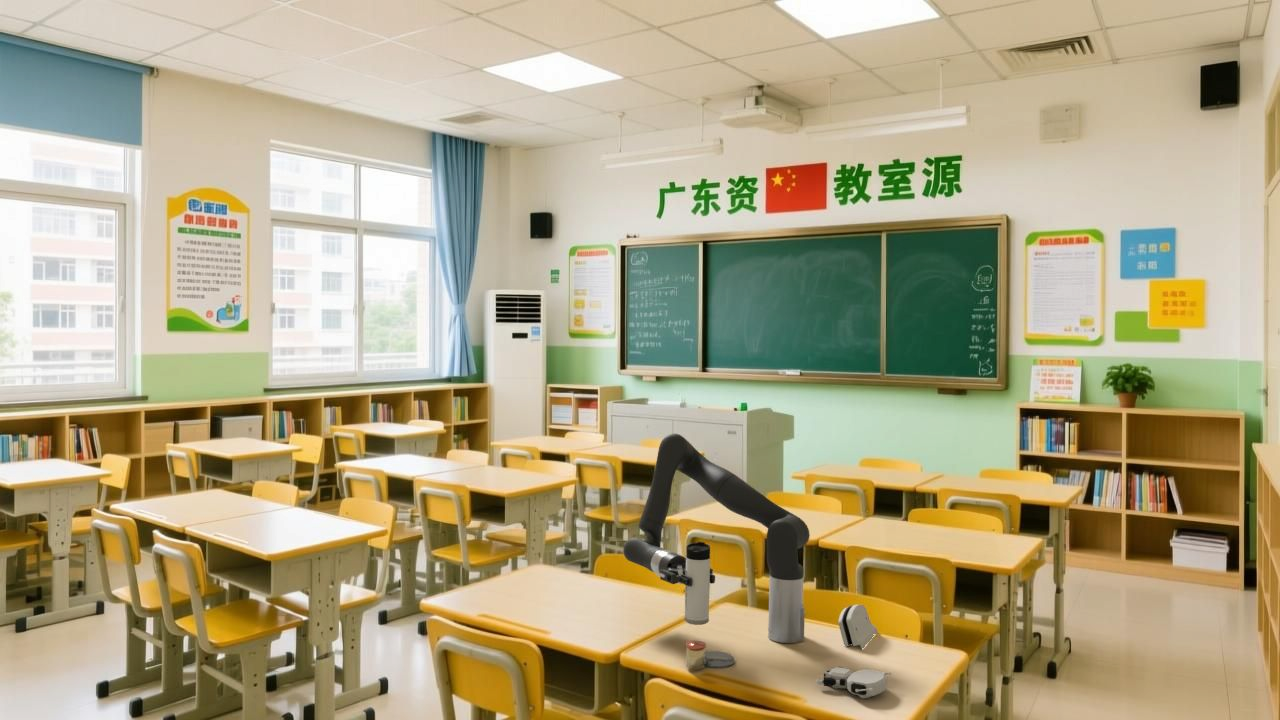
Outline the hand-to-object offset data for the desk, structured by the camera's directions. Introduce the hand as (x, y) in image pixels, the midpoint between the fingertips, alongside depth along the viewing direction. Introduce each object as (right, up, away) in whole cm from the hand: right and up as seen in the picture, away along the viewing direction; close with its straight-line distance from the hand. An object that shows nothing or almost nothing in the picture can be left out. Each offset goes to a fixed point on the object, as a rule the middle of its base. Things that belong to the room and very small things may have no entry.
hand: (702, 581), depth 224 cm
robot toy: (+34, -21, -19) cm, 45 cm away
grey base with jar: (+1, -20, -4) cm, 20 cm away
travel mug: (-1, -11, +2) cm, 11 cm away
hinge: (+44, -21, +17) cm, 51 cm away
